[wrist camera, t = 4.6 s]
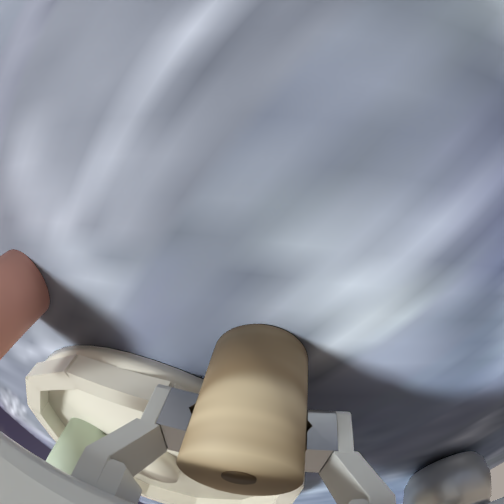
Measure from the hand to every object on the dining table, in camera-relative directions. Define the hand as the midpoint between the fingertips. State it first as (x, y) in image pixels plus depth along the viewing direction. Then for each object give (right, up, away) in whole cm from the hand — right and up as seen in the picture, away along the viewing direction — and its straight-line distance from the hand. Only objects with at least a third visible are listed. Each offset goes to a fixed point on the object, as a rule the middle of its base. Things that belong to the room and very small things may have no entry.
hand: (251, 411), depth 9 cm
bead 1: (-11, +4, +2) cm, 12 cm away
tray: (-6, -7, +7) cm, 12 cm away
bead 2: (-11, -7, +6) cm, 14 cm away
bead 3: (0, +1, +2) cm, 2 cm away
